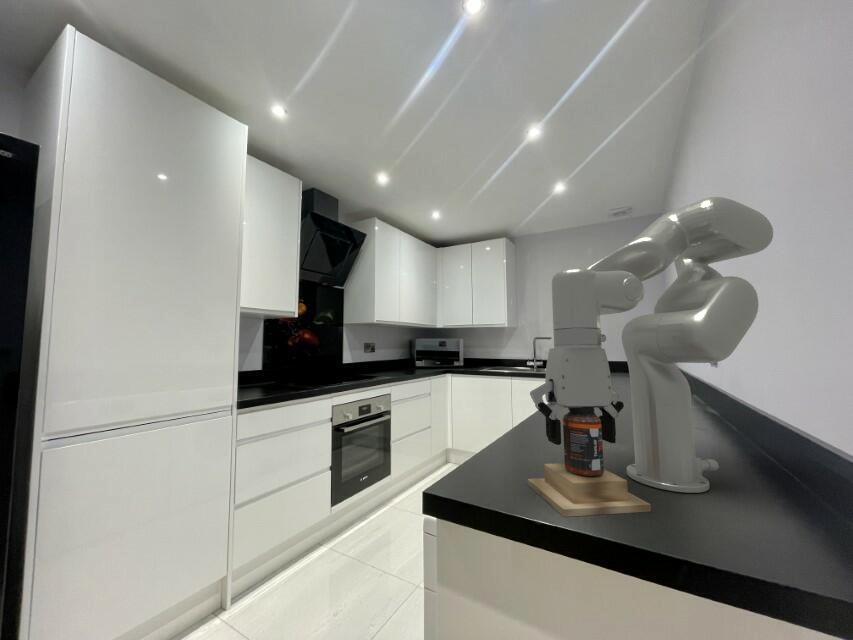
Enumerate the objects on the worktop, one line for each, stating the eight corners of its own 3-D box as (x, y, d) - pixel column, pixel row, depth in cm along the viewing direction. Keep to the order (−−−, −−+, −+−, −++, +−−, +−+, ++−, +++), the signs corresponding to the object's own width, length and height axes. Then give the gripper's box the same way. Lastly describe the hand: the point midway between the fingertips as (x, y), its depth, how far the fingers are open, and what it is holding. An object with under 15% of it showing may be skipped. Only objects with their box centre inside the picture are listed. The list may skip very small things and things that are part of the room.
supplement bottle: (609, 479, 51) (605, 405, 53) (569, 476, 52) (566, 404, 54) (597, 467, 57) (594, 400, 58) (561, 464, 58) (558, 399, 60)
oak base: (599, 481, 61) (597, 459, 62) (651, 511, 49) (649, 483, 50) (527, 484, 59) (527, 461, 60) (564, 516, 47) (563, 487, 48)
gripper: (607, 342, 62) (612, 435, 60) (520, 340, 60) (523, 437, 58) (638, 340, 55) (645, 446, 53) (540, 338, 52) (543, 449, 50)
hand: (581, 441), depth 55 cm, fingers open, 9 cm apart
